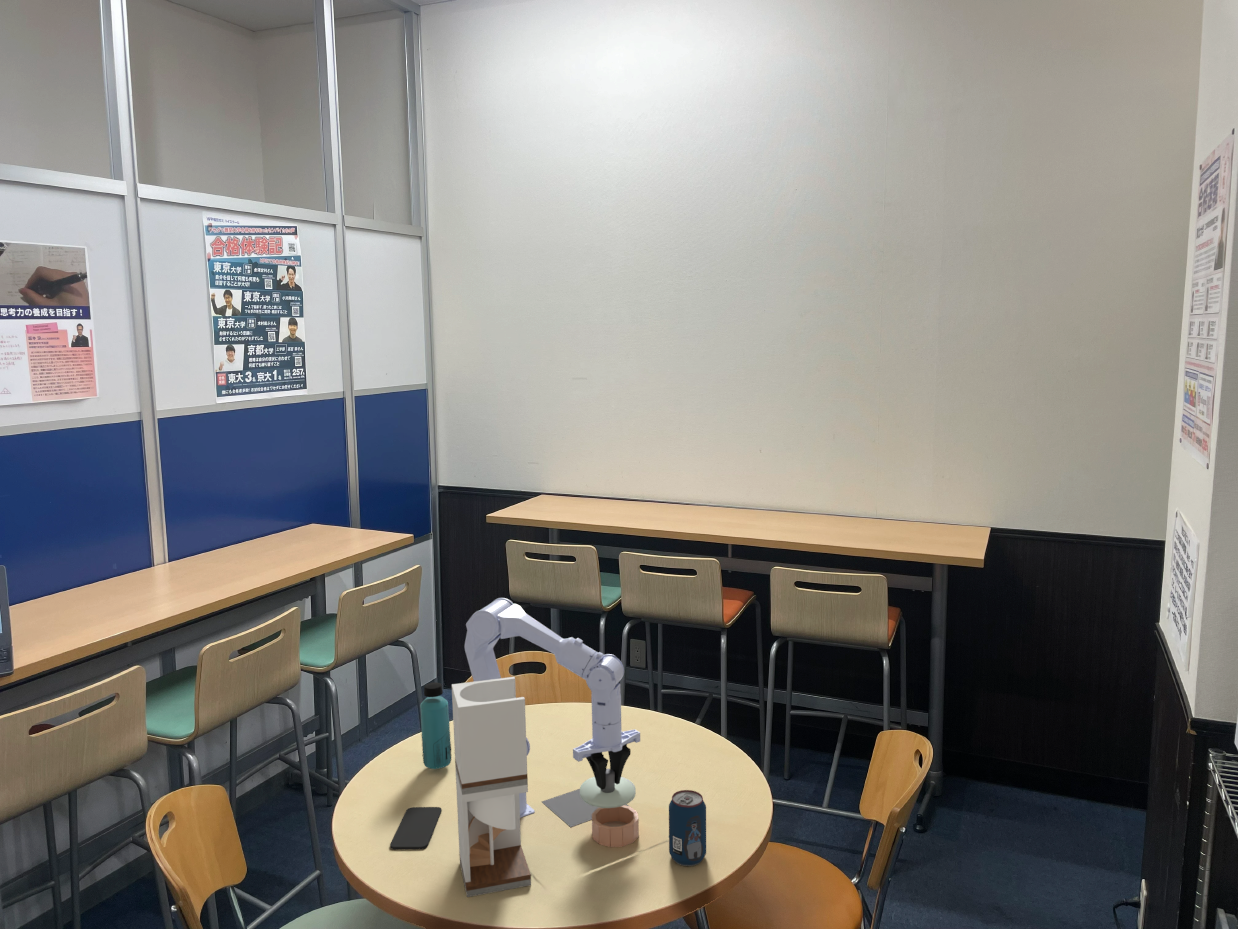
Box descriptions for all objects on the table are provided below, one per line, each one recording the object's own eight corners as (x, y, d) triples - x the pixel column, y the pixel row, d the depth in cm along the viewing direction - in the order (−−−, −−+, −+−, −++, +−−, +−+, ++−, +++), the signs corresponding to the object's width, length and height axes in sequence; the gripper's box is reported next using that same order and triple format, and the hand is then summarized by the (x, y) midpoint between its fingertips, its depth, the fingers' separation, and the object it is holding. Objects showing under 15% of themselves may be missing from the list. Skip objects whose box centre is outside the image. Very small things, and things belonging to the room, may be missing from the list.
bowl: (608, 853, 171) (608, 834, 171) (583, 832, 179) (583, 813, 178) (647, 838, 176) (647, 819, 176) (621, 818, 184) (621, 799, 183)
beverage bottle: (449, 775, 202) (445, 690, 199) (419, 775, 203) (415, 690, 200) (455, 761, 209) (451, 679, 206) (426, 762, 209) (422, 679, 206)
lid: (598, 814, 172) (598, 793, 171) (569, 788, 181) (569, 768, 180) (646, 797, 178) (646, 776, 177) (615, 773, 187) (615, 753, 186)
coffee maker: (466, 897, 159) (458, 707, 154) (459, 863, 169) (451, 684, 164) (531, 885, 162) (524, 698, 157) (520, 852, 172) (514, 676, 167)
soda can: (683, 843, 175) (682, 784, 173) (713, 855, 170) (713, 795, 168) (661, 859, 169) (661, 799, 168) (692, 873, 165) (692, 811, 163)
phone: (443, 806, 189) (426, 847, 174) (443, 810, 189) (427, 851, 174) (407, 807, 189) (388, 847, 174) (407, 810, 189) (388, 851, 174)
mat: (570, 829, 180) (570, 827, 180) (541, 803, 190) (541, 801, 190) (629, 807, 188) (629, 806, 188) (598, 784, 198) (598, 782, 198)
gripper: (585, 736, 169) (587, 804, 171) (648, 716, 177) (650, 781, 179) (566, 723, 175) (568, 789, 177) (628, 704, 183) (629, 768, 185)
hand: (608, 784), depth 179 cm, fingers closed on lid, 3 cm apart
